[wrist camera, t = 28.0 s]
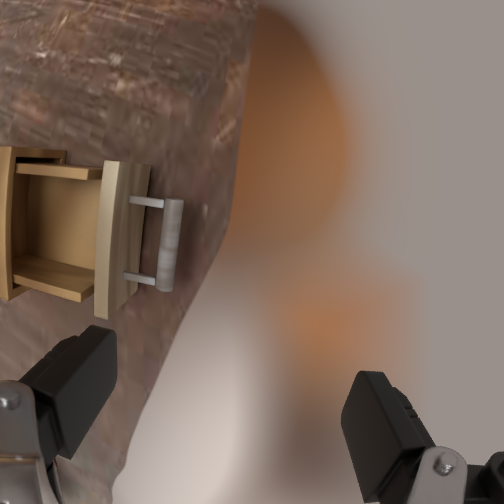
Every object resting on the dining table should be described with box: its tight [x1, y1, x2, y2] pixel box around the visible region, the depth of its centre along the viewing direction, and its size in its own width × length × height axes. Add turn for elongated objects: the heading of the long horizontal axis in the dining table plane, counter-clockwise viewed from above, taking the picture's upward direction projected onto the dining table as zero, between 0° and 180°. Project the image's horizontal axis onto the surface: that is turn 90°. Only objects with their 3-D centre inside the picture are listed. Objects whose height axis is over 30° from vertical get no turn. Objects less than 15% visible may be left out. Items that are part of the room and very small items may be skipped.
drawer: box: [11, 160, 184, 319], centre depth 24 cm, size 18×11×7 cm, turn 80°
